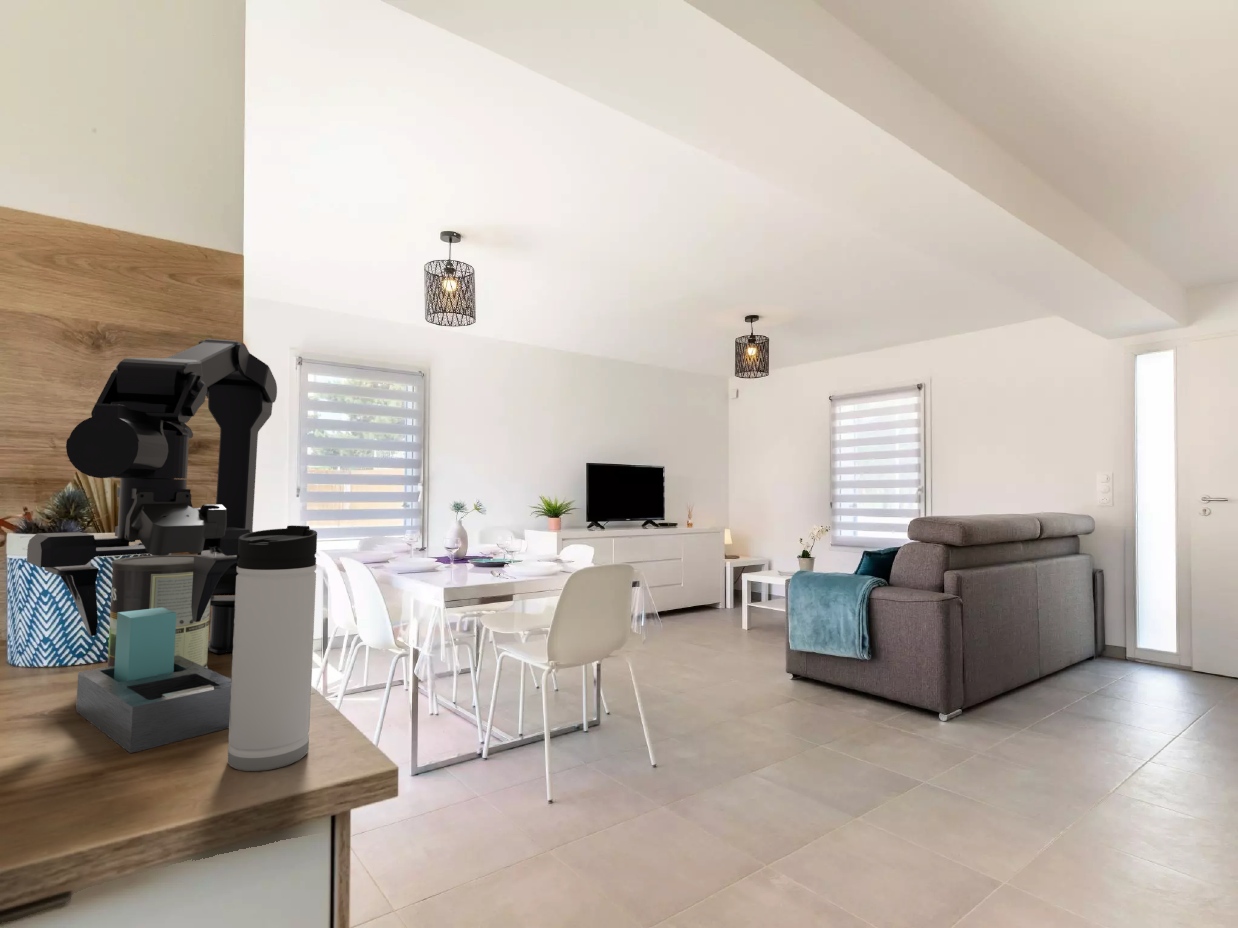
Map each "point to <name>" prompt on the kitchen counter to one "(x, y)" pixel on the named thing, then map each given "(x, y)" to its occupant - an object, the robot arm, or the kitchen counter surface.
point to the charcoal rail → (155, 704)
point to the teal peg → (144, 643)
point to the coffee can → (160, 600)
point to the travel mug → (272, 648)
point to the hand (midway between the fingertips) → (147, 627)
